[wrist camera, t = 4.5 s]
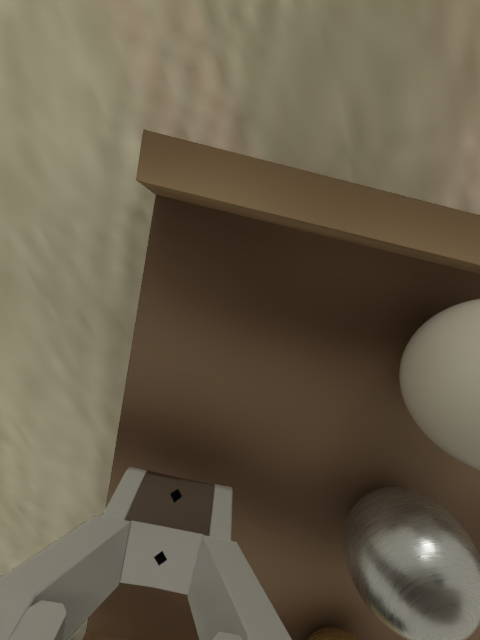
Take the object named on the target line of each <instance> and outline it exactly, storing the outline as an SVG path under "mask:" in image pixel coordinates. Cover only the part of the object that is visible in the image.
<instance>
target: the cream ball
mask: <svg viewBox="0 0 480 640" xmlns="http://www.w3.org/2000/svg"><path fill="white" fill-rule="evenodd" d="M399 380H400V389H401V393H402V397H403V400H404V402H405V405H406V407H407V409H408V412H409V413H410V415H411V416H412V418H413V420H414V421H415V423H416V424H417V426H418V427H419V428H420V429H421V430H422V431H423V432H424V434H425V435H426V436H427V437H428V438H429V439H430V440H431V441H432V442H433V443H435V444H436V445H437V446H438V447H439V448H441V449H442V450H443V451H444V452H446V453H447V454H449V455H450V456H452V457H454V458H455V459H457V460H459V461H460V462H462V463H464V464H466V465H468V466H470V467H473V468H475V469H477V470H480V299H476V300H471V301H467V302H463V303H460V304H457V305H454V306H451V307H449V308H447V309H445V310H443V311H441V312H439V313H437V314H436V315H434V316H433V317H431V318H430V319H429V320H427V321H426V322H425V323H424V324H423V325H422V326H421V327H420V328H419V329H418V330H417V331H416V332H415V333H414V335H413V336H412V337H411V339H410V340H409V342H408V344H407V345H406V348H405V350H404V352H403V355H402V358H401V362H400V369H399Z"/></svg>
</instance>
